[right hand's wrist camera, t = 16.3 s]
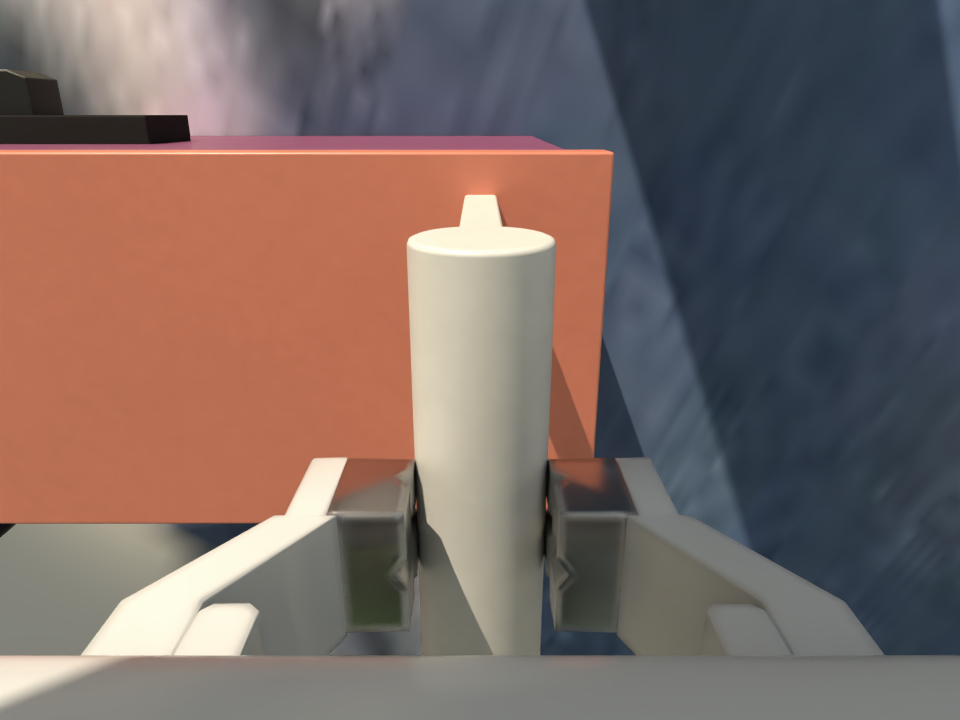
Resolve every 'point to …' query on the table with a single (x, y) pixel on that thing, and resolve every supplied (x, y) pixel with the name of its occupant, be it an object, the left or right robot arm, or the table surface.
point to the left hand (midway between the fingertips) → (195, 297)
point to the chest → (317, 143)
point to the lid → (308, 345)
